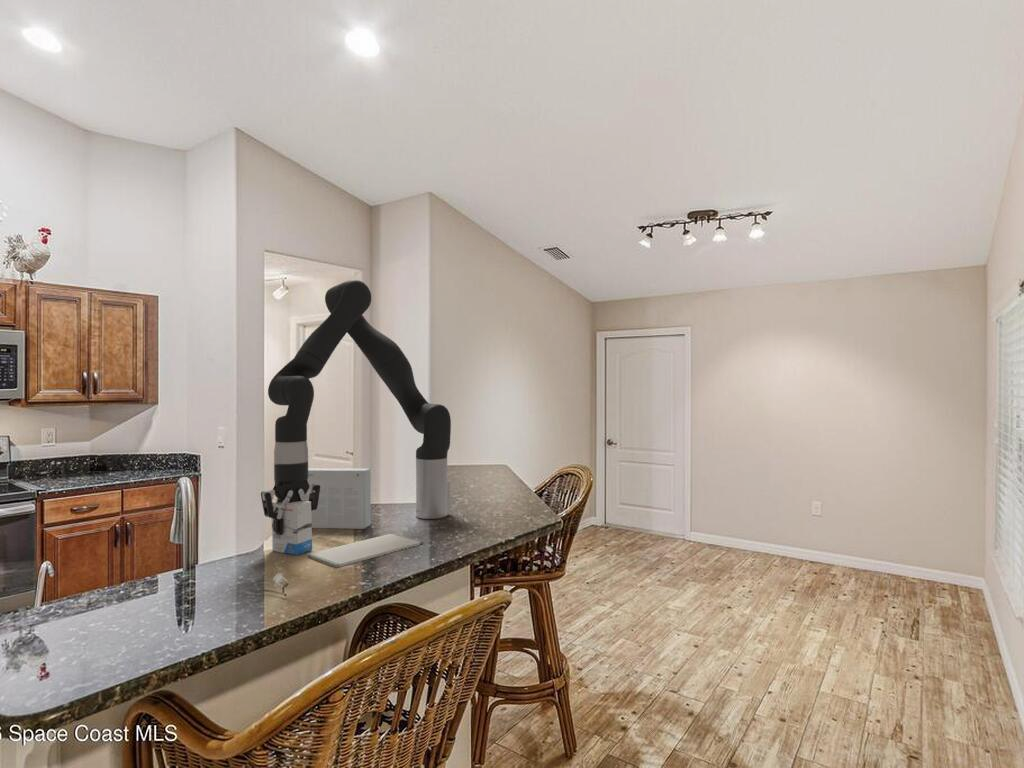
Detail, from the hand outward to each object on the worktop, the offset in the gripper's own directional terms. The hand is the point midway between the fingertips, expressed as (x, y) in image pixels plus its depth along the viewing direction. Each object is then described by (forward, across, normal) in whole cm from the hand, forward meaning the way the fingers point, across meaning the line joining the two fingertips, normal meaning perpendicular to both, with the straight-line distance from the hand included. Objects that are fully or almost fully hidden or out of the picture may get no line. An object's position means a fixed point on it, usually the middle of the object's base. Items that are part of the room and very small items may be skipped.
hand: (291, 531), depth 136 cm
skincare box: (+5, -19, -14) cm, 24 cm away
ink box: (+5, 0, 0) cm, 5 cm away
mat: (+5, -12, +13) cm, 18 cm away
